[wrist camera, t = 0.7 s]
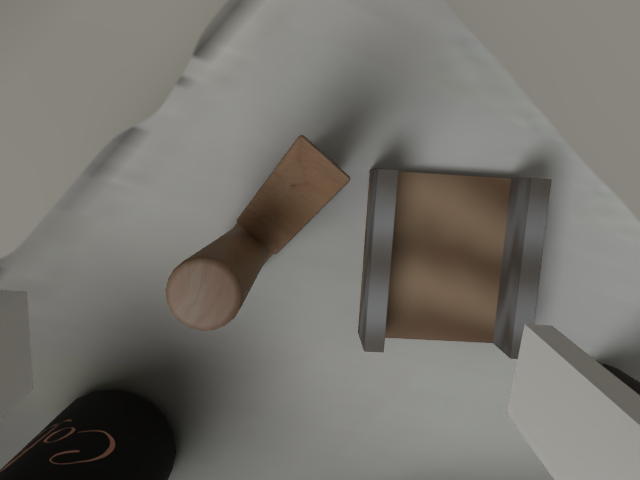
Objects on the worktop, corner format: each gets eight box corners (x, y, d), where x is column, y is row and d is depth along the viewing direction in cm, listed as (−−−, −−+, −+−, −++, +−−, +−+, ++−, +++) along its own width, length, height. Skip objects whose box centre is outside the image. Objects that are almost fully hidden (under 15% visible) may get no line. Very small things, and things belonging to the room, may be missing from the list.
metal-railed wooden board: (505, 339, 41) (529, 359, 36) (358, 332, 40) (364, 351, 36) (523, 179, 39) (551, 179, 35) (369, 170, 39) (378, 168, 34)
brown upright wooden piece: (336, 178, 39) (360, 177, 21) (252, 274, 40) (207, 352, 22) (303, 149, 38) (298, 122, 20) (219, 246, 39) (145, 302, 21)
